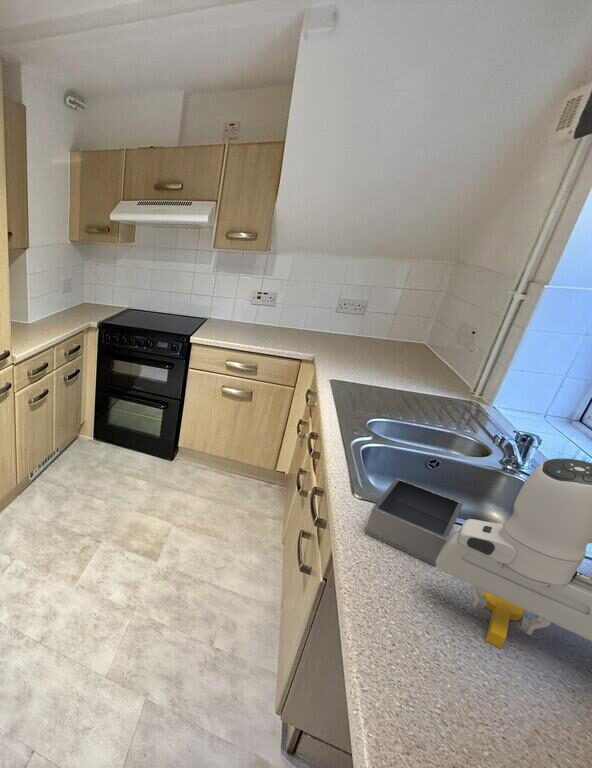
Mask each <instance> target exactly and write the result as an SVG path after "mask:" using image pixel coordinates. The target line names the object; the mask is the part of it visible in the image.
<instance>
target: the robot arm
mask: <svg viewBox="0 0 592 768" xmlns="http://www.w3.org/2000/svg"><path fill="white" fill-rule="evenodd" d="M589 544H592V462H589V461H585V460H580V459H575V458H561V457H560V458H550V459H547V460H546V459H545V460H544V461H543V462H541V463H540V464H539V465H537V467H536V468H534V469H533V471H532V472H531V473H530V475H528V477H527V478H526V479H525V481H524V483H523V484H522V486H521V488H520V490H519V492H518V493H517V495H516V498H515V499H514V502H513V511H512V514H511V516H510V517H508V518H507V519H506V520H505V521H504V523H498V522H497V523H496V522H491V521H486V520H480V519H473V518H468V519H465V521H464V522H463V523H462V524H461V527H460V529H459V530H458V531H455V532H453V533H451V534H450V536H449V538H448V540H447V541H446V543H445V544H444V546H443V547H442V549H441V551H440V553H439V555H438V557H437V559H436V564H437V565H436V566H437V568H438V569H439V570H440V571H442V572H444V573H446V574H448V575H450V576H453V577H455V578H457V579H459V580H461V581H463V582H465V583H467V584H469V585H470V588H469V589H470V591H471V594H472V597H473V601H472V604H471V607H473V608H474V609H477V610H479V611H481V612H484V610H485V608H487V607H486V604H487V600H488V599H486V598H484V597H482V596H483V595H482V593H483V591H484V592H485V591H486V592H489V593H491V594H493V595H495V596H497V597H499V598H501V599H503V600H506V601H508V602H510V603H512V604H514V605H516V606H518V607H520V608H522V609H524V611H526V612H529V613H531V614H533V615H535V616H536V617H533V618H527V617H525V616H522V617H521V619H520V620H519V622H518V627H517V630H519V631H521V632H522V633H525V634H527V635H528V636H532V635H533V632H534V631H535V630H538V629H543V628H549V627H550V625H551V624H553V625H556V626H559V627H561V628H563V629H565V630H567V631H569V632H571V633H574V634H575V635H577V636H579V637H582V638H583V639H586V640H588V641H590V642H592V576H589V575H587V574H586V573H582V572H580V571H578V570H579V568H580V566H581V564H582V563H583V561H584V559H585V558H586V555H587V547H588V545H589Z"/></svg>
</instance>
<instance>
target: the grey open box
mask: <svg viewBox="0 0 592 768" xmlns="http://www.w3.org/2000/svg"><path fill="white" fill-rule="evenodd" d="M464 503H465V502H464V501H461V500H458V499H457V498H453V497H450V496H448V495H446V494H443V493H440V492H437V491H434V490H433V489H429V488H427V487H423V486H421V485H418V484H416V483H413V482H410V481H408V480H406V479H402V478H399V477H396V478H395V479H394V480H393V482H391V484H390V485H389V486H388V487H387V489H386V490H385V492H384V493H383V494H382V495H381V497H380V498H379V499H378V501H377V502H376V503H375V504H374V506H373V507H372V509H371V512H370V515H369V518H368V521H367V524H366V527H365V530H364V534H365V535H367V536H370V537H372V538H374V539H375V540H378V541H381V542H383V543H385V544H387V545H389V546H391V547H392V548H396V549H397V550H399V551H402V552H404V553H406V554H407V555H409V556H412V557H415V558H416V559H418V560H421V561H423V562H424V563H427V564H429V565H431V566H433V567H436V566H437V564H436V559H437V557H438V555H439V553H440V551H441V549H442V547H443V546H444V544H445V543H446V541H447V540H448V539H449V537H450V536H451V534H452V531H453V529H454V526H455V524H456V522H457V519H458V517H459V515H460V513H461V510H462V509H463V506H464Z"/></svg>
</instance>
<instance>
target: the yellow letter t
mask: <svg viewBox="0 0 592 768" xmlns="http://www.w3.org/2000/svg"><path fill="white" fill-rule="evenodd" d="M481 596H482V597H484V598H486V599H488V600H487V604H486V607H485V608H487V609H488V610H489V611H490V612H491V615H490V620H489V624H488V629H487V633H486V637H485V642H486V643H488V644H491V645H492V646H494V647H496V648H498V649H501V648H502V647H503V645H504V643H505V641H506V639H507V635H508V630H509V624H510V621H520V620H521V619H522V617H523V616H524V613H525V609H522V608H520V607H518V606H516V605H514V604H512V603H510V602H508V601H506V600H503V599H501V598H499V597H497V596H495V595H493V594H491V593H489V592H486V591H484V592H483V594H482V595H481Z"/></svg>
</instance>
